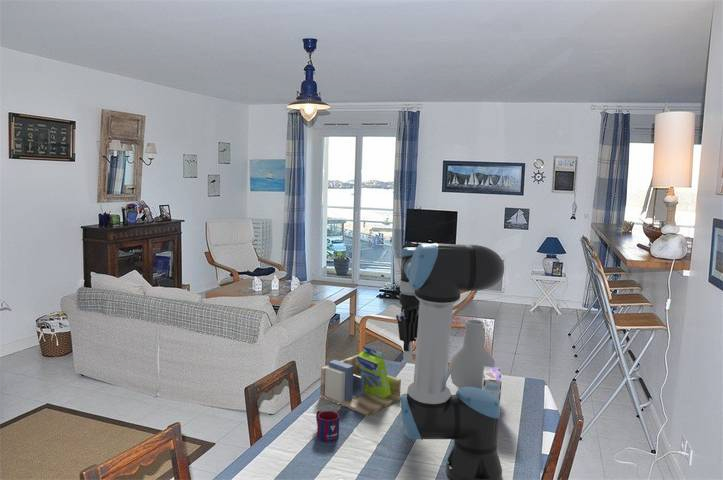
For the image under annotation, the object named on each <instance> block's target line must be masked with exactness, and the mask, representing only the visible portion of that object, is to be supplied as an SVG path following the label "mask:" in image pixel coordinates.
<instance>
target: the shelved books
mask: <svg viewBox="0 0 723 480" xmlns="http://www.w3.org/2000/svg"><path fill="white" fill-rule="evenodd" d="M340 361H341V360H338V359H334V360H333V359H332V360H331V361H328V365H329V366H328V367H325V396H328V397H330V398H333V399H335V400H338V401H340V402H342V401H344V400H345V401H347V400H350V399H352V393H353V366H352V365H349V364H346V363H343V362H340Z"/></svg>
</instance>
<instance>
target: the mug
mask: <svg viewBox="0 0 723 480" xmlns="http://www.w3.org/2000/svg"><path fill="white" fill-rule="evenodd" d="M315 418H316V419H315V420H316V438H317V439H318V440H319V441H321V442H329V441H330V442H333V441H334V442H335V441H336V440H338V439H339V437H340V413H338V412H336V411H333V410H324V411H322V410H317V411H316V414H315Z"/></svg>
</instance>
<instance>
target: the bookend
mask: <svg viewBox="0 0 723 480" xmlns="http://www.w3.org/2000/svg"><path fill="white" fill-rule="evenodd" d="M365 388H366V378H363V377H360V376H357V375H354V374H353V393H352V398H355V399H356V398H358V397H360V396H363V395H365Z"/></svg>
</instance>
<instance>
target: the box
mask: <svg viewBox="0 0 723 480" xmlns="http://www.w3.org/2000/svg"><path fill="white" fill-rule="evenodd" d="M362 350H363V351H361V352H360V353H358V354H356V355H357V359H358V363H359V368H360V373H361V377H363V378H366V388H365V391H367V392H370V393H372V394H374V395H377V396H379V397H381V398H384V399H385V398H386V397H387V396H389V395H390V394H391V390H390V386H389V381H388V376H387V375H388V371H387V367H386V362H385V360H384V353H383V352H380V351H378V350H375V349H373V348H372V349H371V348H369V347H366V346H364V345H363V346H362Z"/></svg>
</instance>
